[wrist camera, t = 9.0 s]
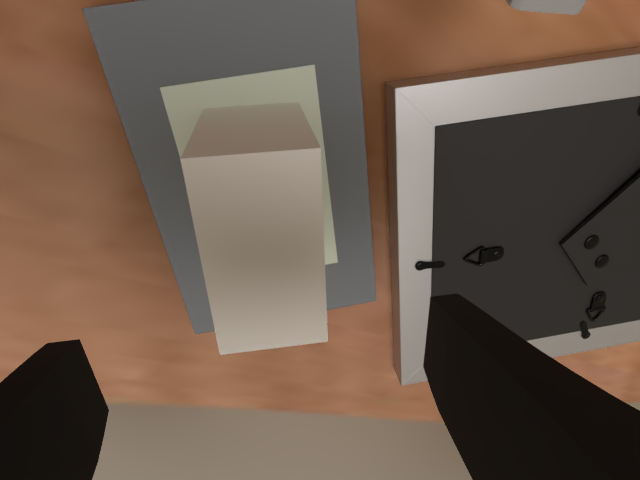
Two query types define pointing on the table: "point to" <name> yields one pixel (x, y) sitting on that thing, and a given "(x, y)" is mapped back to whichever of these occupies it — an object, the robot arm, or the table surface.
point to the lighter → (549, 6)
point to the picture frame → (518, 201)
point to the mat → (239, 90)
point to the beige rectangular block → (259, 224)
